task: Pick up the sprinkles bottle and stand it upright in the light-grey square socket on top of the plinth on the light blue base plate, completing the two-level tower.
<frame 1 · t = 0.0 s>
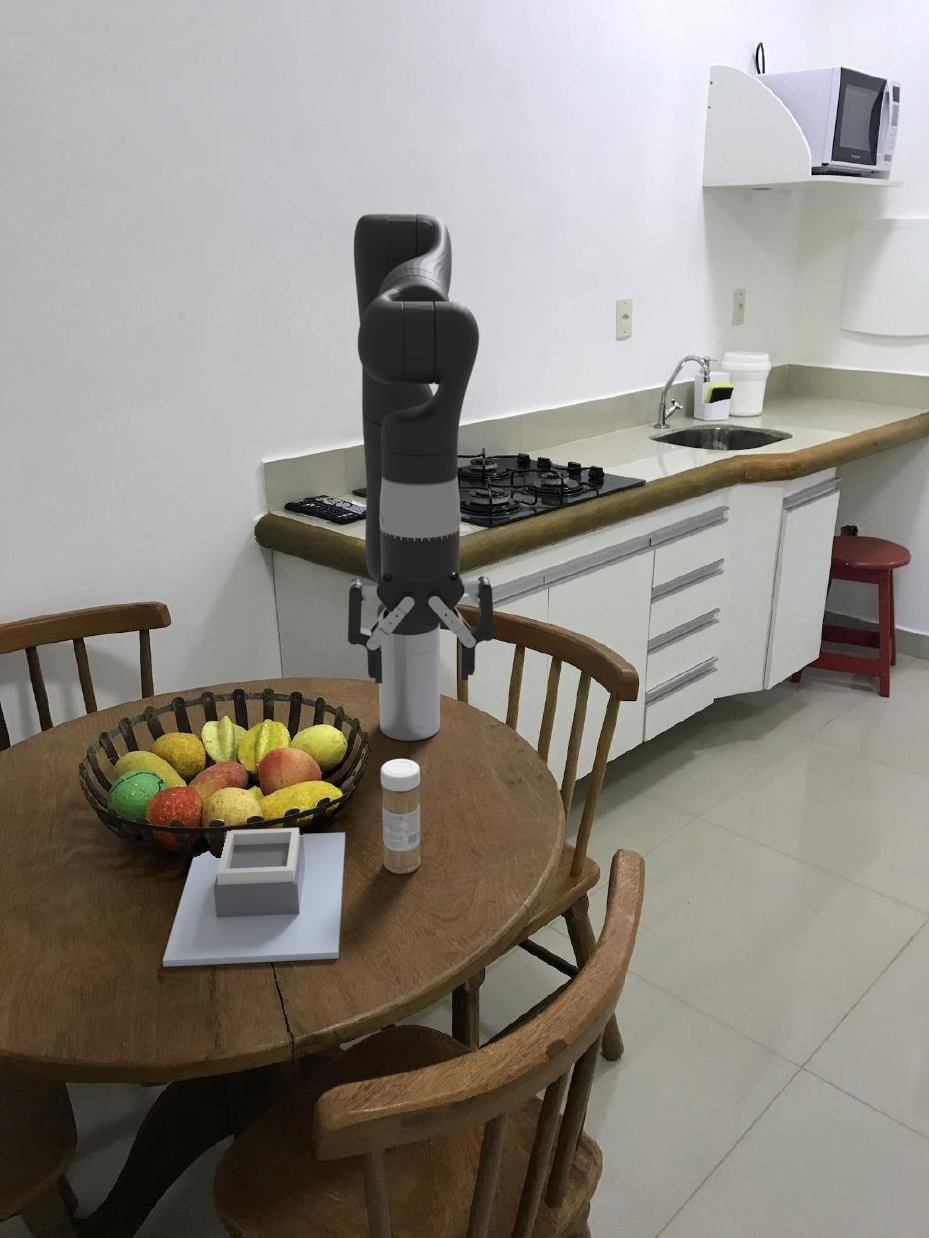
hand: (421, 679, 98), 29 cm above the table, fingers open, 8 cm apart
light blue base plate: (263, 895, 112), on the table
sprinkles bottle: (401, 865, 118), on the table
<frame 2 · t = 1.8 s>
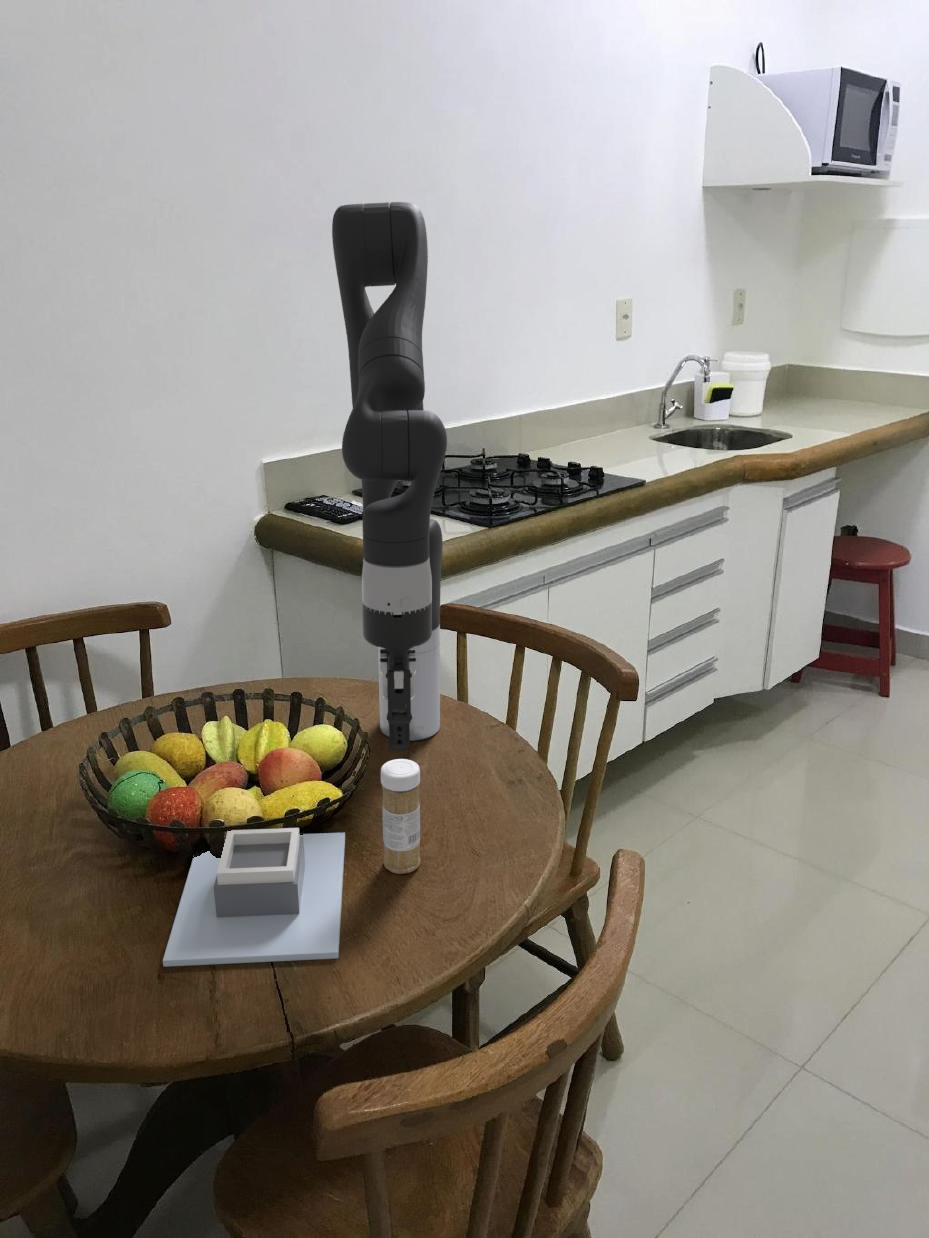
hand: (398, 731, 111), 18 cm above the table, fingers open, 8 cm apart
nothing on the table moved.
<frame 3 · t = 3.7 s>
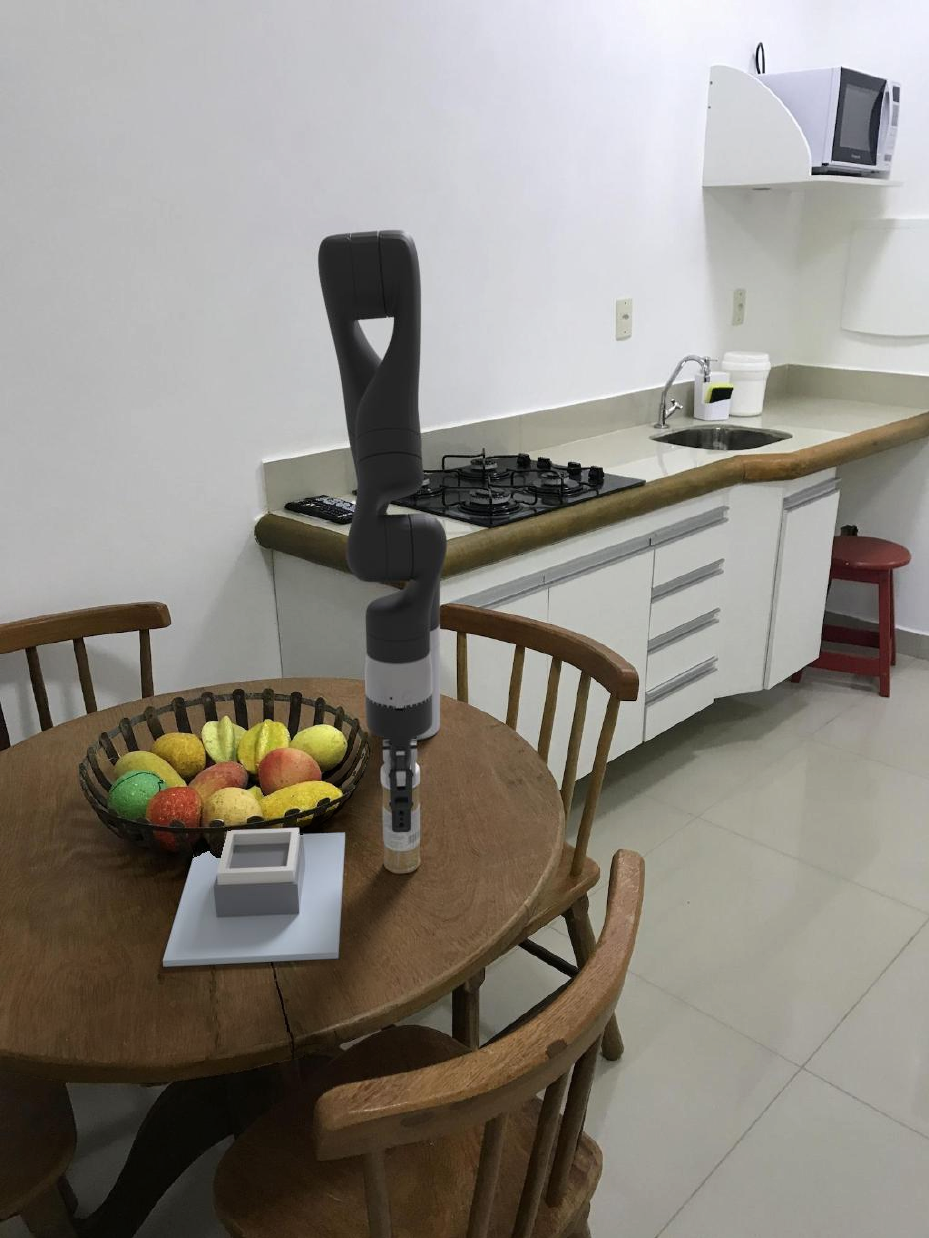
hand: (401, 818, 116), 7 cm above the table, fingers closed on sprinkles bottle, 4 cm apart
sprinkles bottle: (401, 865, 118), on the table, touching gripper
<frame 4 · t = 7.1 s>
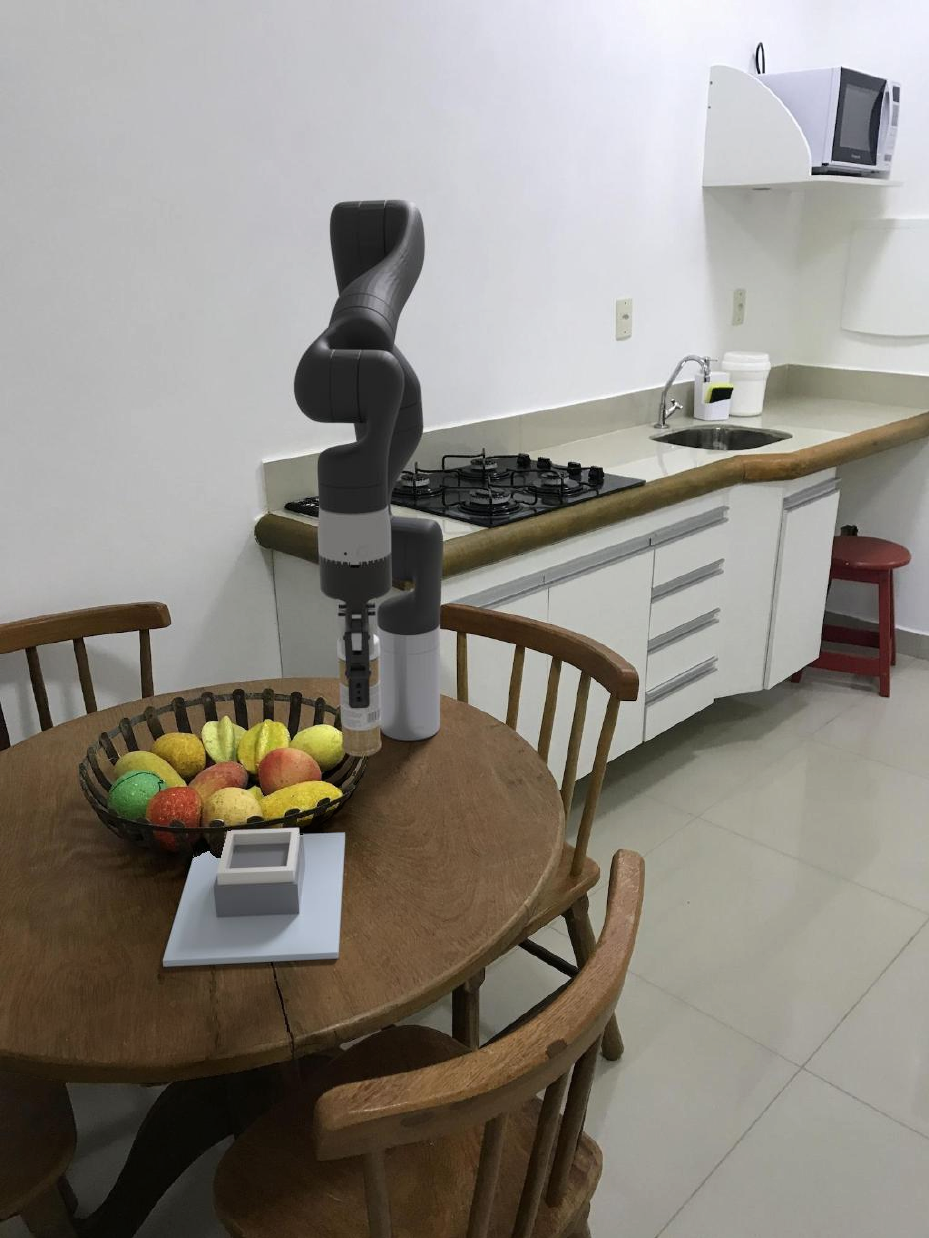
hand: (359, 696, 108), 23 cm above the table, fingers closed on sprinkles bottle, 4 cm apart
sprinkles bottle: (361, 749, 110), point 17 cm above the table, touching gripper
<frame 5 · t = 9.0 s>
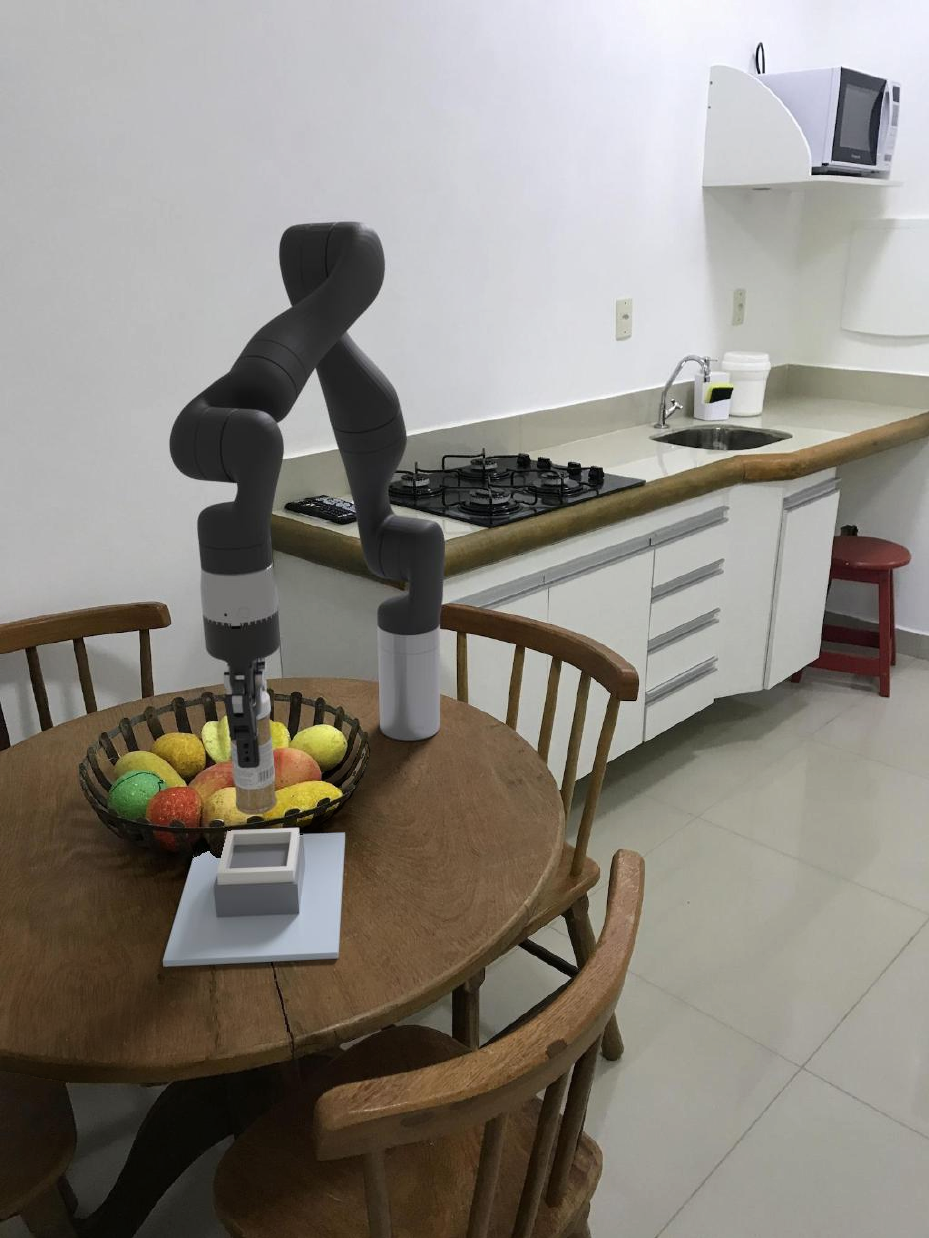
hand: (252, 753, 105), 18 cm above the table, fingers closed on sprinkles bottle, 4 cm apart
sprinkles bottle: (256, 807, 108), point 12 cm above the table, touching gripper
when the fingers open (12 cm above the table, at t = 10.5 s): sprinkles bottle stays where it is, resting on light blue base plate.
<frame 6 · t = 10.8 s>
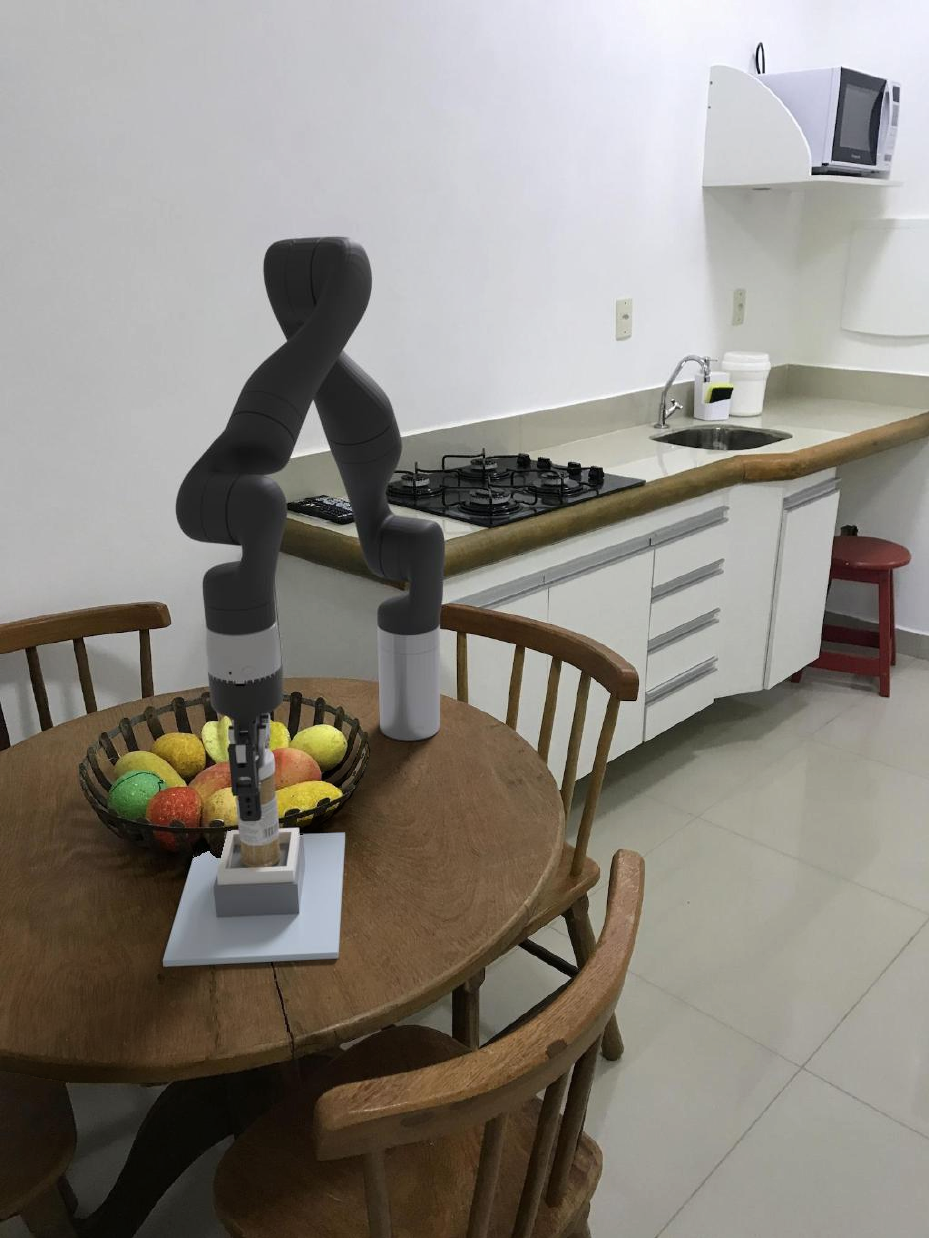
hand: (255, 799, 107), 13 cm above the table, fingers open, 7 cm apart
sprinkles bottle: (261, 861, 111), point 5 cm above the table, touching light blue base plate
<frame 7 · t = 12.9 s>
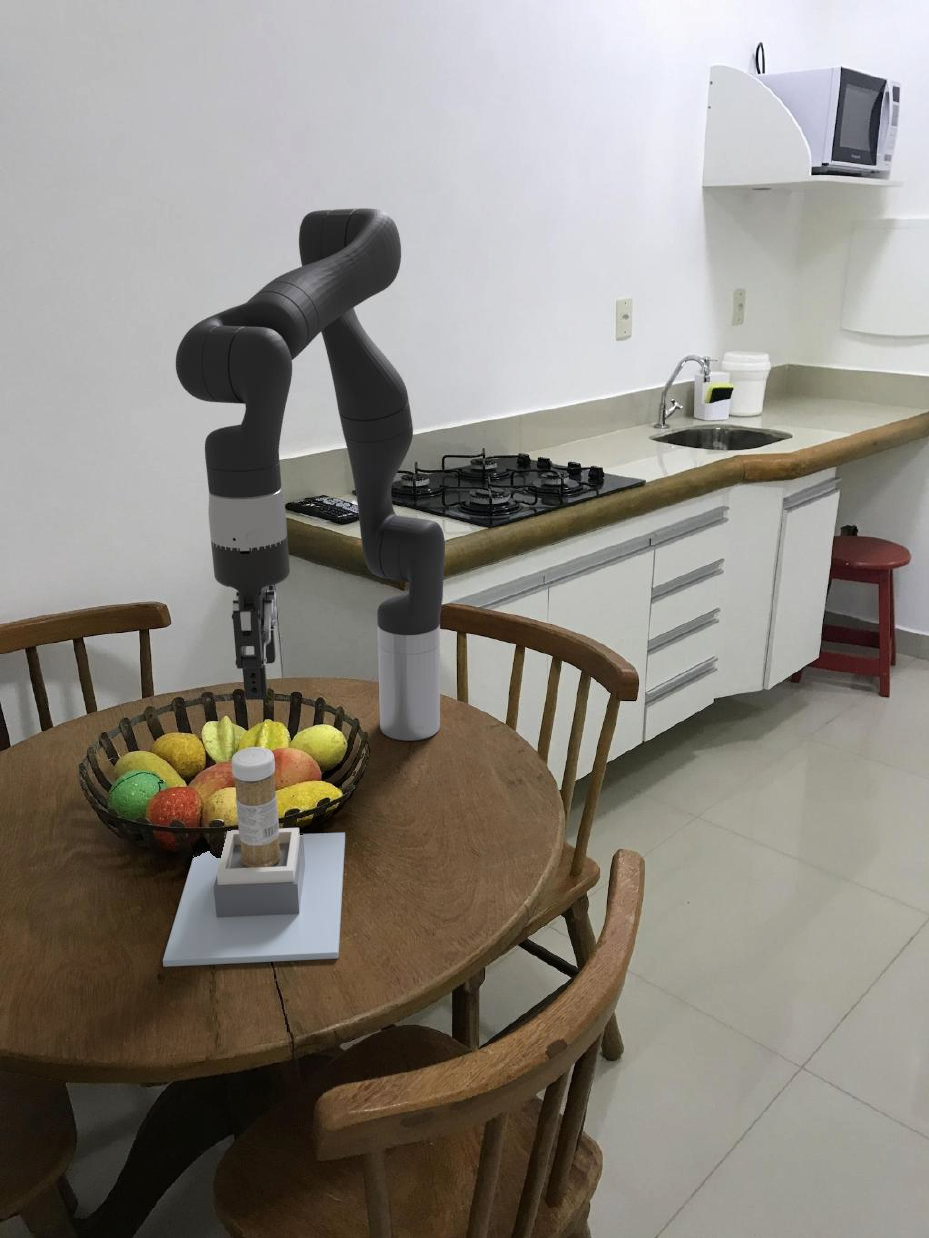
hand: (261, 679, 104), 27 cm above the table, fingers open, 8 cm apart
nothing on the table moved.
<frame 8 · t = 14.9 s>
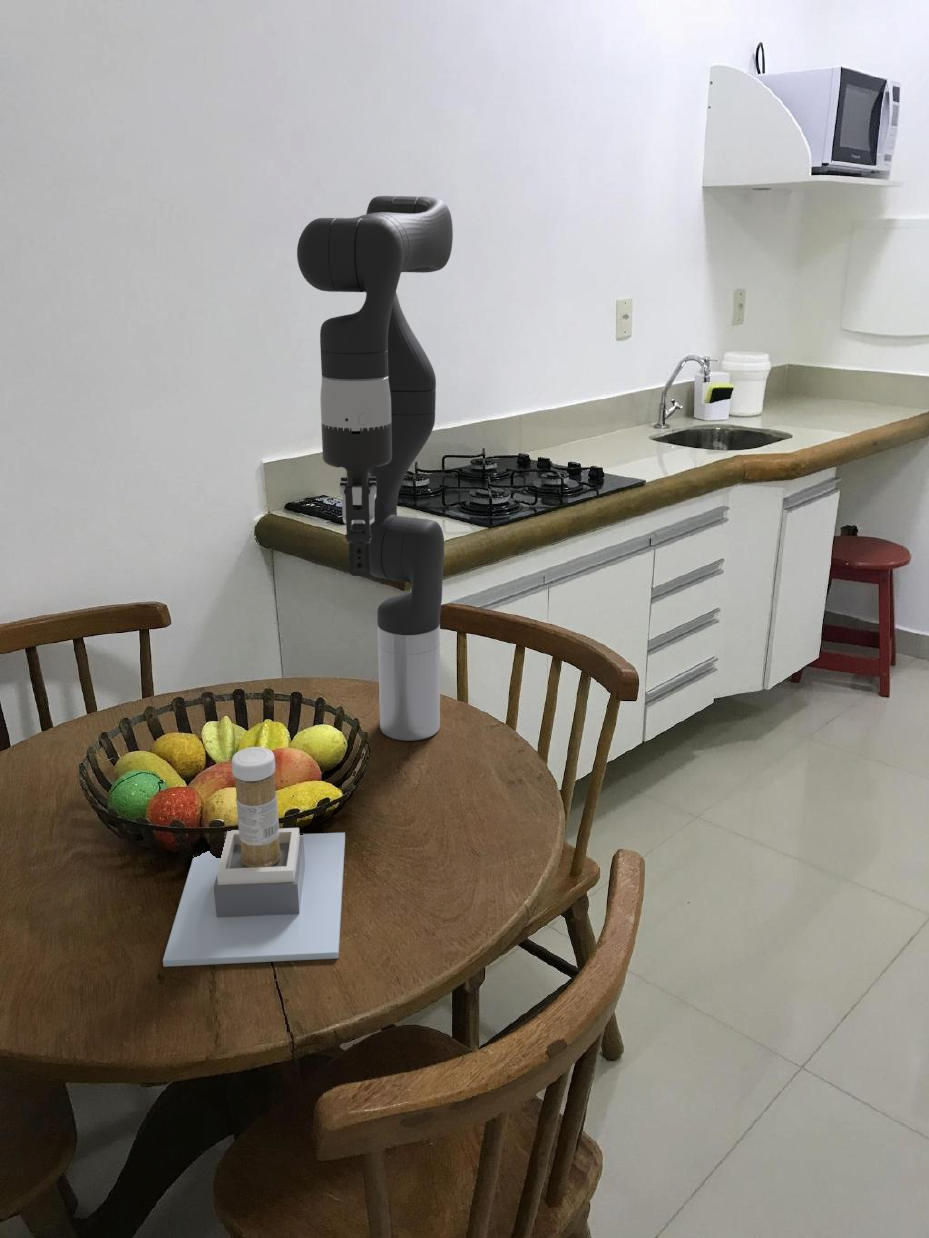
hand: (360, 562, 111), 36 cm above the table, fingers open, 8 cm apart
nothing on the table moved.
at the end: sprinkles bottle 0.2 cm off-centre on the light blue base plate, point 4.6 cm above the light blue base plate's base; sprinkles bottle tilted 0°; the gripper is holding nothing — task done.
